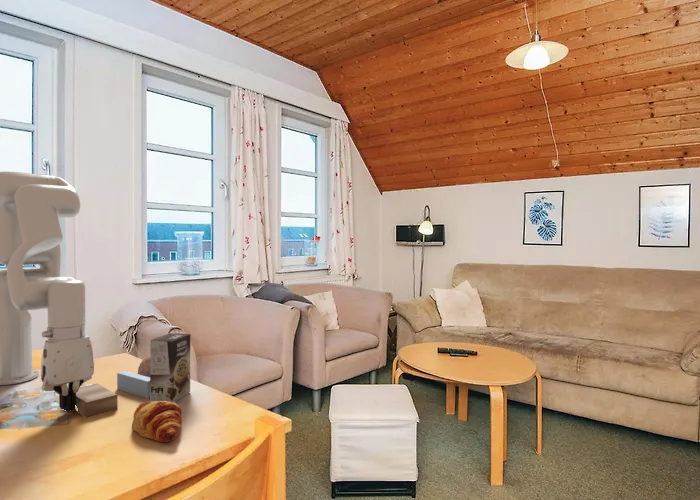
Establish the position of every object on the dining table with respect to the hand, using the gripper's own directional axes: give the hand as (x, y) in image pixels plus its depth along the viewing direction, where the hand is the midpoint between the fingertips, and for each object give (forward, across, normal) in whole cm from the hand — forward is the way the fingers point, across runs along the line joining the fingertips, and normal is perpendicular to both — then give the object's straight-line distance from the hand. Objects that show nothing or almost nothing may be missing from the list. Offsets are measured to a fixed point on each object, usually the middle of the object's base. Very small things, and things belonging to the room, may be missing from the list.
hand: (67, 409), depth 109 cm
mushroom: (+1, +24, +3) cm, 25 cm away
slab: (+2, +6, 0) cm, 6 cm away
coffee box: (+1, +20, -10) cm, 23 cm away
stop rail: (+1, +18, 0) cm, 18 cm away
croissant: (+2, +7, -24) cm, 25 cm away
